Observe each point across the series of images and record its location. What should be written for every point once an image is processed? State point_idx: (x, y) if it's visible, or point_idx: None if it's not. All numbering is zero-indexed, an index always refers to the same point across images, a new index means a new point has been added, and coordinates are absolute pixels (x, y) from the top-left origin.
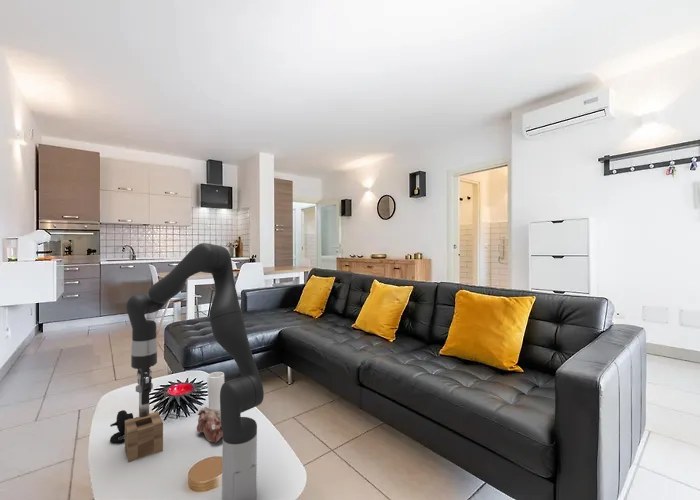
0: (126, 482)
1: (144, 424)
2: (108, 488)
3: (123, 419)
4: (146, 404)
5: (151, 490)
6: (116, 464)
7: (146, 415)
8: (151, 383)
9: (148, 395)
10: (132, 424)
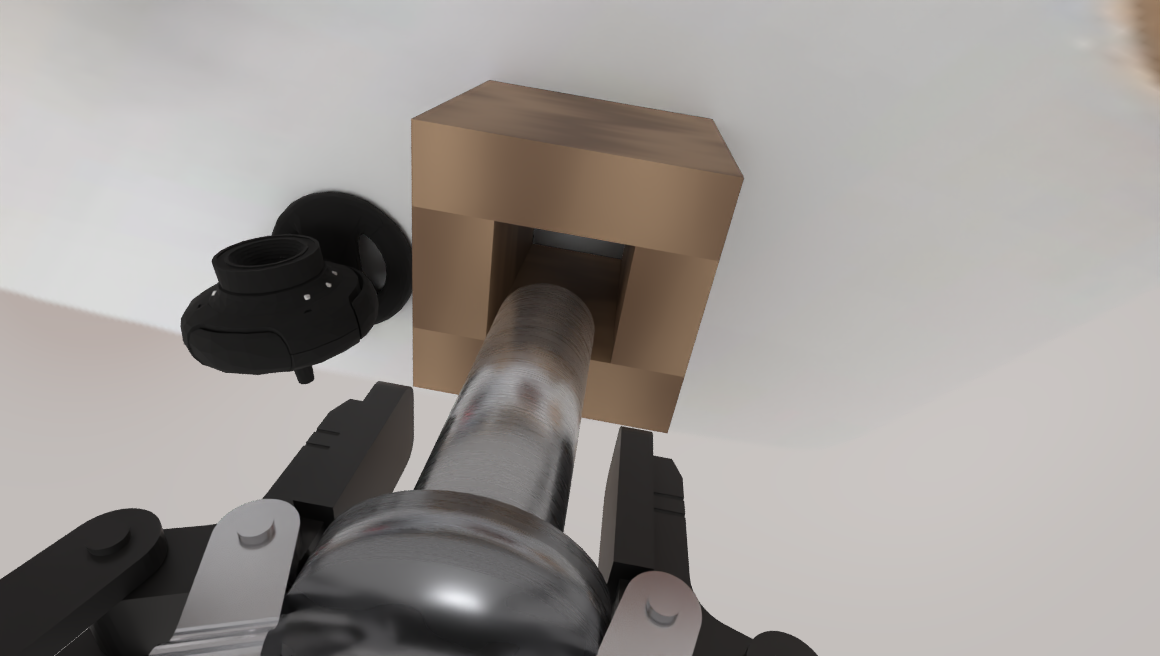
0: (845, 368)
1: (503, 247)
2: (811, 427)
3: (332, 352)
4: (581, 407)
5: (1052, 312)
6: None
7: (593, 326)
8: (406, 573)
9: (648, 530)
10: None
